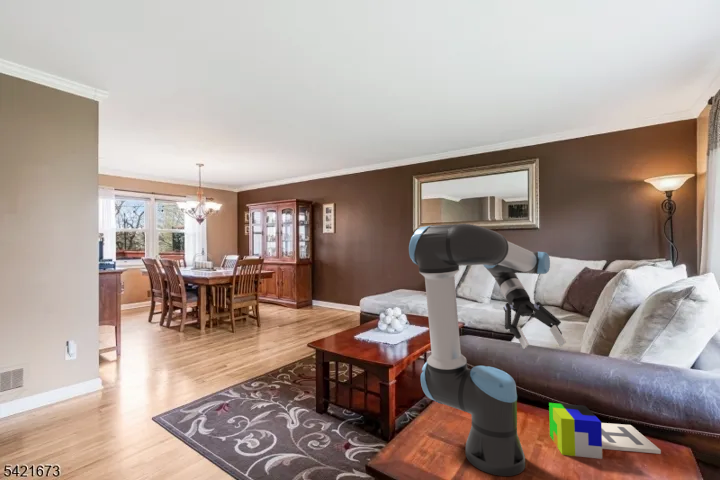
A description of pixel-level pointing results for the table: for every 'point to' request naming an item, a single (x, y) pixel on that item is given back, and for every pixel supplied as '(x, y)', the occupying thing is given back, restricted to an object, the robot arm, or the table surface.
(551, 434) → the puzzle toy
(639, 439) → the letter board
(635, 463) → the table surface
